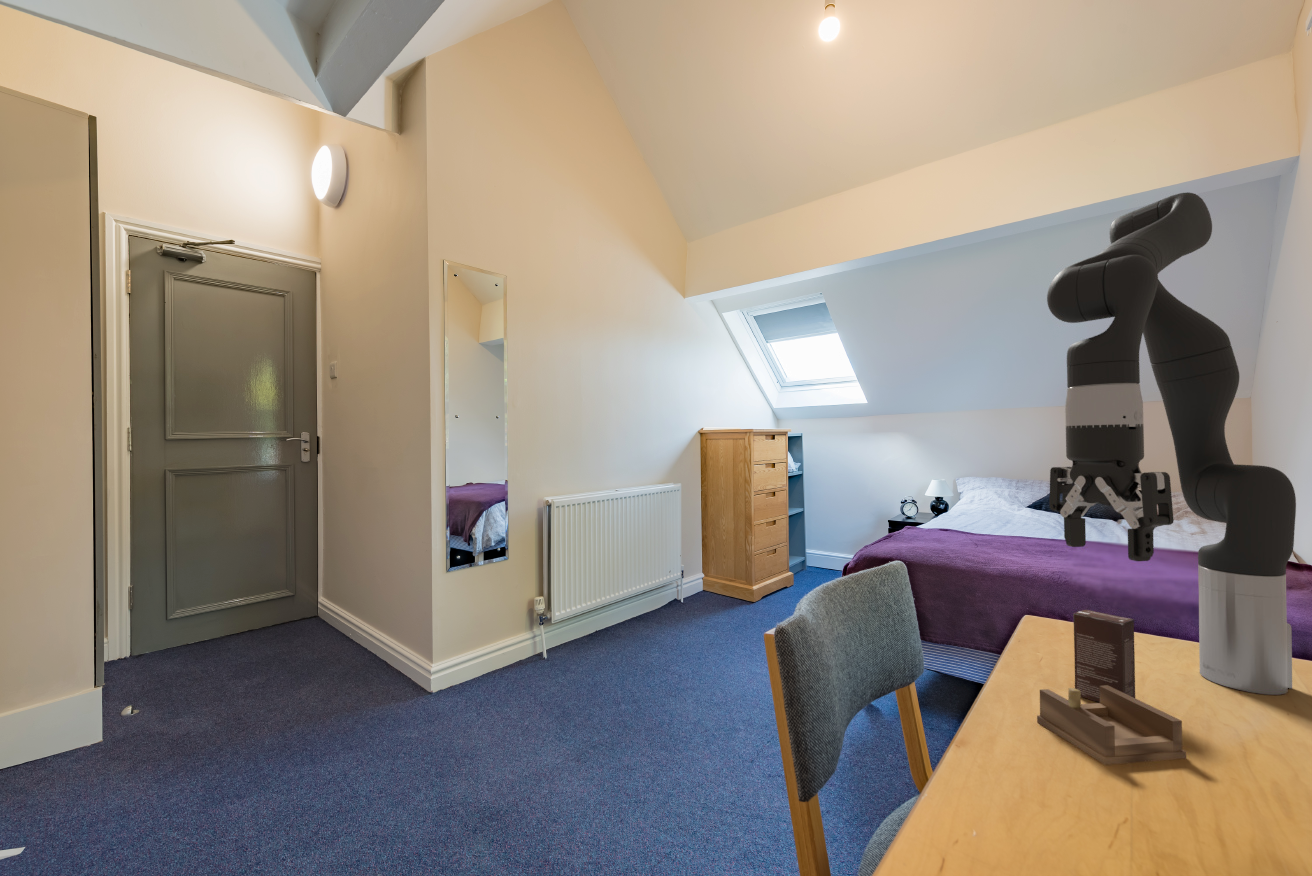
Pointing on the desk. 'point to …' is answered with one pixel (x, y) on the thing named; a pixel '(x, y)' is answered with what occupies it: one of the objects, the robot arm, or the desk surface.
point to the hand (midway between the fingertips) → (1105, 553)
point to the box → (1103, 653)
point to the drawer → (1112, 726)
